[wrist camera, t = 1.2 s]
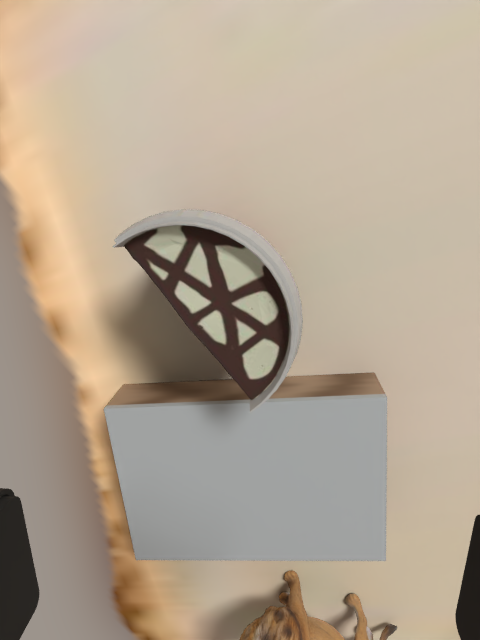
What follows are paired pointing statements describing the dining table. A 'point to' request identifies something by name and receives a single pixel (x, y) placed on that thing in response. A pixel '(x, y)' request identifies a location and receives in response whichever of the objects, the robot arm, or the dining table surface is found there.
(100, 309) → the dining table surface
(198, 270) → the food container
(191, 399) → the pedestal
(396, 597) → the dining table surface
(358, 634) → the lion figurine
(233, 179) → the dining table surface
